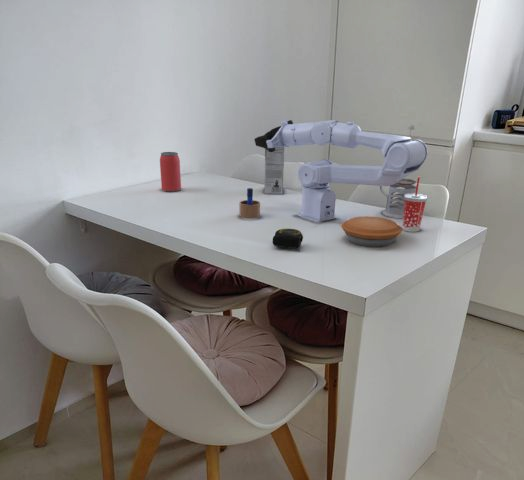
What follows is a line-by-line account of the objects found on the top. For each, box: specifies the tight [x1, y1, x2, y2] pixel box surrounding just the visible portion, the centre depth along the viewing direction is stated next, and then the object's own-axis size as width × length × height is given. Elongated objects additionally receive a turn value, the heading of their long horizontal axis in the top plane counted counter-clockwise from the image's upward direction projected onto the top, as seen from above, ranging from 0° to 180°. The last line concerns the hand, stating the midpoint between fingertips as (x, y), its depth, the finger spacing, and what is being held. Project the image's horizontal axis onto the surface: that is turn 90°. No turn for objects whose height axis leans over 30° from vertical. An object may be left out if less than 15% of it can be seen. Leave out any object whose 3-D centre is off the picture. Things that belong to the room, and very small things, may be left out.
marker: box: [246, 187, 254, 205], centre depth 155 cm, size 2×2×8 cm
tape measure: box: [272, 228, 304, 250], centre depth 133 cm, size 7×7×4 cm
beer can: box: [159, 151, 182, 193], centre depth 182 cm, size 7×7×12 cm
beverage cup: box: [401, 176, 428, 233], centre depth 146 cm, size 6×6×14 cm
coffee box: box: [264, 147, 286, 195], centre depth 183 cm, size 9×6×16 cm
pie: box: [340, 215, 404, 248], centre depth 138 cm, size 16×16×5 cm
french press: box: [379, 124, 421, 219], centre depth 157 cm, size 10×12×25 cm
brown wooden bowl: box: [238, 199, 261, 219], centre depth 156 cm, size 6×6×4 cm
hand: (264, 137), depth 161 cm, fingers open, 7 cm apart
